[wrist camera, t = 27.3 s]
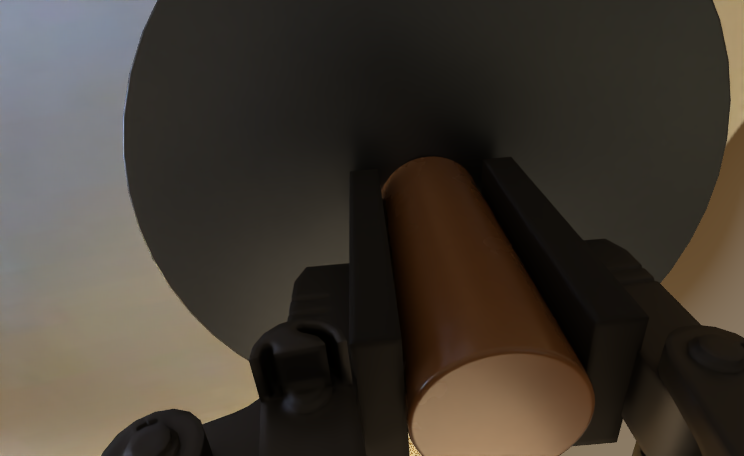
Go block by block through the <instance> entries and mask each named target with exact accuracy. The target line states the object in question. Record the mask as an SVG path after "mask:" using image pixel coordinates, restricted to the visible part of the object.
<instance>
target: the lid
mask: <svg viewBox="0 0 744 456" xmlns="http://www.w3.org/2000/svg"><path fill="white" fill-rule="evenodd" d="M730 101H731V98H730V79H729V60H728V55H727V51H726V46H725V41H724V36H723V31H722V27H721V22H720V18H719V16H718V13H717V11H716V8H715V5H714V3H713V0H157V2H156V4H155V6H154V8H153V10H152V12H151V15H150V17H149V19H148V21H147V23H146V25H145V27H144V29H143V31H142V34H141V37H140V41H139V44H138V47H137V50H136V54H135V57H134V60H133V64H132V67H131V70H130V73H129V80H128V86H127V93H126V100H125V106H124V113H123V158H124V165H125V172H126V179H127V186H128V193H129V196H130V200H131V203H132V207H133V210H134V213H135V217H136V220H137V224H138V227H139V230H140V232H141V234H142V236H143V239H144V241H145V243H146V245H147V248H148V250H149V252H150V254H151V257H152V259H153V261H154V262H155V264H156V265H157V267H158V269H159V270H160V272H161V274H162V275H163V277H164V279H165V280H166V282H167V283H168V285H169V287H170V288H171V289H172V291H173V292H174V293H175V294H176V296H177V297H178V298H179V299H180V301H181V302H182V303H183V304H184V306H185V307H186V308H187V309H188V311H189V312H190V313H191V314H192V315H193V316H194V317H195V318H196V319H197V320H198V321H199V322H200V323H201V324H202V325H203V326H204V327H205V328H206V329H207V330H208V331H209V332H210V333H211V334H212V335H214V336H215V337H216V338H217V339H219V340H220V341H221V342H223V343H224V344H225V345H226V346H228V347H229V348H230V349H232V350H233V351H234V352H236V353H237V354H238V355H240V356H242V357H243V358H245V359H247V360H248V361H249V356H250V353H251V350H252V347H253V345H254V344H255V343H256V342H257V341H258V339H259V338H260V337H261V336H262V335H263V334H264V333H265V332H267V331H269V330H270V329H272V328H274V327H275V326H277V325H278V324H281V323H284V322H287V319H288V316H289V308H290V303H291V301H292V300H291V297H292V292H293V286H294V282H295V280H296V279H297V278H298V277H299V276H300V274H301V273H302V272H303V271H304V269H305V268H306V267H312V266H323V265H334V264H345V263H349V181H350V171H359V170H370V169H378V172H379V179H380V187H381V194H382V201H383V208H384V215H385V223H386V230H387V237H388V244H389V251H390V259H391V266H392V273H393V280H394V287H395V295H396V302H397V309H398V316H399V323H400V331H401V338H402V351H403V366H404V381H405V414H406V422H407V429H408V433H409V436H410V439H411V441H412V442H413V444H414V446H415V447H416V449H417V450H418V451H419V453H420V454H421V455H422V456H559V455H561V454H562V453H564V452H565V451H566V450H568V449H569V448H570V447H571V446H572V445H573V444H575V443H576V442H577V440H578V439H579V438H580V437H581V436H582V435H583V433H584V432H585V430H586V429H587V427H588V425H589V423H590V421H591V419H592V416H593V413H594V408H595V393H594V388H593V384H592V382H591V380H590V378H589V376H588V374H587V372H586V371H585V369H584V367H583V365H582V364H581V362H580V360H579V359H578V357H577V355H576V354H575V352H574V350H573V348H572V347H571V345H570V343H569V342H568V340H567V338H566V337H565V335H564V333H563V331H562V330H561V328H560V326H559V325H558V323H557V321H556V320H555V318H554V316H553V314H552V313H551V311H550V309H549V308H548V306H547V304H546V303H545V301H544V299H543V297H542V296H541V294H540V292H539V291H538V289H537V287H536V286H535V284H534V282H533V280H532V279H531V277H530V275H529V274H528V272H527V270H526V269H525V267H524V265H523V263H522V262H521V260H520V258H519V257H518V255H517V253H516V252H515V250H514V248H513V246H512V245H511V243H510V241H509V240H508V238H507V236H506V235H505V233H504V231H503V229H502V228H501V226H500V224H499V223H498V221H497V219H496V218H495V216H494V214H493V212H492V211H491V209H490V207H489V206H488V204H487V202H486V200H485V199H484V197H483V195H482V194H481V193H482V165H483V159H491V158H502V157H512V158H513V159H514V160H515V162H516V163H517V164H518V165H519V166H520V167H521V169H522V170H523V171H524V172H525V173H526V174H527V176H528V177H529V178H530V179H531V180H532V181H533V182H534V184H535V185H536V186H537V187H538V188H539V189H540V191H541V192H542V193H543V194H544V195H545V196H546V198H547V199H548V200H549V201H550V202H551V203H552V205H553V206H554V207H555V208H556V209H557V210H558V212H559V213H560V214H561V215H562V216H563V217H564V218H565V220H566V221H567V222H568V223H569V224H570V225H571V227H572V228H573V229H574V230H575V231H576V232H577V234H578V235H579V236H580V237H581V238H582V239H583V240H593V239H604V238H605V239H607V240H609V241H611V242H613V243H614V244H616V245H618V246H620V247H622V248H624V249H626V250H627V251H628V252H629V253H630V254H631V255H632V256H633V257H634V258H635V259H636V260H637V261H638V262H639V263H640V264H641V265H642V268H645V269H646V270H647V271H648V272H649V273H650V274H651V275H652V276H653V277H654V280H655V281H658V282H659V283H661V282H662V280H663V279H664V278H665V277H666V276H667V274H668V273H669V272H670V271H671V269H672V268H673V266H674V265H675V263H676V262H677V260H678V259H679V257H680V256H681V254H682V253H683V251H684V250H685V248H686V247H687V245H688V244H689V242H690V240H691V238H692V237H693V235H694V233H695V231H696V228H697V226H698V225H699V223H700V221H701V219H702V217H703V215H704V213H705V211H706V209H707V206H708V203H709V200H710V198H711V195H712V192H713V190H714V187H715V184H716V181H717V179H718V176H719V172H720V167H721V163H722V159H723V155H724V150H725V146H726V141H727V135H728V124H729V112H730Z"/></svg>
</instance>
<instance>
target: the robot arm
mask: <svg viewBox="0 0 744 456" xmlns="http://www.w3.org/2000/svg"><path fill="white" fill-rule="evenodd" d="M481 194H482V195H483V197H484V199H485V200H486V202H487V204H488V206H489V207H490V209H491V211H492V212H493V214H494V216H495V218H496V219H497V221H498V223H499V224H500V226H501V228H502V229H503V231H504V233H505V235H506V236H507V238H508V240H509V241H510V243H511V245H512V246H513V248H514V250H515V252H516V253H517V255H518V257H519V258H520V260H521V262H522V263H523V265H524V267H525V269H526V270H527V272H528V274H529V275H530V277H531V279H532V280H533V282H534V284H535V286H536V287H537V289H538V291H539V292H540V294H541V296H542V297H543V299H544V301H545V303H546V304H547V306H548V308H549V309H550V311H551V313H552V314H553V316H554V318H555V320H556V321H557V323H558V325H559V326H560V328H561V330H562V331H563V333H564V335H565V337H566V338H567V340H568V342H569V343H570V345H571V347H572V348H573V350H574V352H575V354H576V355H577V357H578V359H579V360H580V362H581V364H582V365H583V367H584V369H585V371H586V372H587V374H588V376H589V378H590V380H591V382H592V384H593V388H594V393H595V408H594V413H593V416H592V419H591V421H590V423H589V425H588V427H587V429H586V430H585V432H584V433H583V435H582V436H581V437H580V438H579V439H578V440H577V442H576V443H575V444H573V445H572V446H578V445H591V444H602V443H614V442H617V439H618V435H619V431H620V428H621V424H622V420H623V419H624V421H625V422H626V424H627V426H628V427H629V429H630V431H631V433H632V434H633V436H634V437H635V439H636V444H635V447H634V451H633V454H632V456H744V338H743V337H741V336H739V335H738V334H736V333H732V332H729V331H726V330H723V329H720V328H717V327H711V326H702V325H700V323H699V322H698V321H697V320H695V318H693V316H691V314H690V313H689V312H688V311H687V310H686V309H685V308H683V306H682V305H681V304H680V303H679V302H678V301H677V300H676V299H675V298H674V297H673V296H672V295H671V294H670V293H669V292H668V291H667V290H666V289H665V288H664V287H663V286H662V285H661V284H660V283H659V282H658V281H655V280H654V277H653V276H652V275H651V274H650V273H649V272H648V271H647V270H646V269H645V268H642V265H641V264H640V263H639V262H638V261H637V260H636V259H635V258H634V257H633V256H632V255H631V254H630V253H629V252H628V251H627V250H626V249H624V248H622V247H620V246H618V245H616V244H614V243H613V242H611V241H609V240H607V239H605V238H604V239H593V240H583V239H582V238H581V237H580V236H579V235H578V234H577V232H576V231H575V230H574V229H573V228H572V227H571V225H570V224H569V223H568V222H567V221H566V220H565V218H564V217H563V216H562V215H561V214H560V213H559V212H558V210H557V209H556V208H555V207H554V206H553V205H552V203H551V202H550V201H549V200H548V199H547V198H546V196H545V195H544V194H543V193H542V192H541V191H540V189H539V188H538V187H537V186H536V185H535V184H534V182H533V181H532V180H531V179H530V178H529V177H528V176H527V174H526V173H525V172H524V171H523V170H522V169H521V167H520V166H519V165H518V164H517V163H516V162H515V160H514V159H513V158H512V157H502V158H491V159H483V165H482V193H481ZM291 300H292V301H291V303H290V308H289V316H288V319H287V322H284V323H281V324H278V325H277V326H275V327H274V328H272V329H270V330H269V331H267V332H265V333H264V334H263V335H262V336H261V337H260V338H259V339H258V341H257V342H256V343H255V344H254V345H253V347H252V350H251V353H250V356H249V362H250V366H251V370H252V373H253V377H254V380H255V384H256V387H257V391H258V394H259V399H258V400H256V401H255V402H254V403H252V404H251V405H249V406H248V407H246V408H244V409H241V410H239V411H237V412H235V413H232V414H230V415H227V416H224V417H221V418H219V419H216V420H213V421H210V422H208V423H205V424H202V423H201V421H200V420H199V419H198V418H197V417H196V416H194V415H193V414H192V413H191V412H189V411H183V410H177V409H170V410H164V411H158V412H154V413H152V414H150V415H147V416H145V417H143V418H141V419H138V420H136V421H135V422H133V423H132V424H131V425H129V426H128V427H127V428H125V429H124V430H123V431H121V432H120V433H119V434H118V435H117V436H116V437H115V438H114V440H113V441H112V442H111V443H110V444H109V446H108V447H107V448H106V449H105V450H104V452H103V454H102V455H101V456H409V441H408V429H407V422H406V414H405V381H404V366H403V351H402V338H401V331H400V323H399V316H398V309H397V302H396V295H395V287H394V280H393V273H392V266H391V259H390V251H389V244H388V237H387V230H386V223H385V215H384V208H383V201H382V194H381V187H380V179H379V172H378V169H370V170H359V171H350V181H349V263H345V264H334V265H323V266H312V267H306V268H305V269H304V271H303V272H302V273H301V274H300V276H299V277H298V278H297V279H296V280H295V282H294V286H293V292H292V297H291Z"/></svg>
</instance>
